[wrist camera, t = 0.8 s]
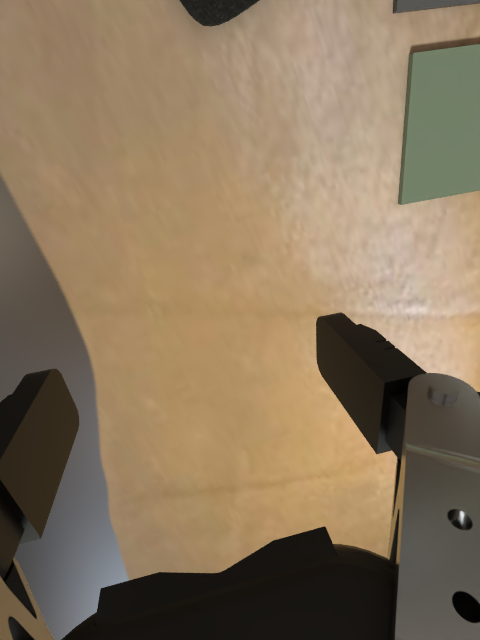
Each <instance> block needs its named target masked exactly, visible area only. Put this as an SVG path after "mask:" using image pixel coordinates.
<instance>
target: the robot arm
mask: <svg viewBox="0 0 480 640" xmlns="http://www.w3.org/2000/svg"><path fill="white" fill-rule="evenodd" d="M316 346H317V364H318V368H319V371H320V373H321V375H322V377H323V378H324V380H325V381H326V382H327V384H328V385H329V387H330V388H331V390H332V391H333V392H334V394H335V395H336V397H337V398H338V400H339V401H340V402H341V404H342V405H343V407H344V408H345V410H346V411H347V412H348V414H349V415H350V417H351V418H352V420H353V421H354V422H355V424H356V425H357V427H358V428H359V430H360V431H361V432H362V434H363V435H364V437H365V438H366V440H367V441H368V442H369V444H370V445H371V447H372V448H373V450H374V451H375V452H376V454H379V453H383V452H387V451H391V450H392V451H393V452H394V453H395V455H396V456H397V463H396V472H395V484H394V495H393V506H392V518H391V529H390V538H389V546H388V554H387V558H385V557H383V556H381V555H378V554H376V553H373V552H371V551H369V550H365V549H362V548H358V547H355V546H348V545H342V544H333V543H332V541H331V539H330V536H329V534H328V532H327V529H326V527H321V528H317V529H314V530H310V531H307V532H303V533H299V534H296V535H292V536H289V537H285V538H281V539H278V540H274V541H272V542H270V543H269V544H267V545H266V546H264V547H262V548H261V549H259V550H257V551H256V552H254V553H252V554H251V555H249V556H248V557H246V558H244V559H243V560H241V561H239V562H238V563H236V564H234V565H233V566H231V567H230V568H228V569H226V570H224V571H222V572H219V573H168V572H159V573H155V574H151V575H148V576H144V577H141V578H137V579H133V580H130V581H126V582H123V583H119V584H115V585H112V586H108V587H105V588H101V591H100V597H99V603H98V609H97V612H96V613H95V614H93V615H92V616H90V617H89V618H87V619H86V620H85V621H83V622H82V623H81V624H79V625H78V626H76V627H75V628H74V629H73V630H72V631H71V632H70V633H68V634H67V635H66V636H65V637H64V638H63V639H62V640H480V392H476V391H475V390H474V388H472V387H471V386H470V385H469V384H467V383H465V382H464V381H462V380H460V379H457V378H455V377H452V376H449V375H444V374H438V373H426V372H425V371H424V370H423V369H421V368H420V367H419V366H418V365H417V364H415V363H414V362H413V361H412V360H411V359H409V358H408V357H407V356H406V355H405V354H403V353H402V352H401V351H400V350H399V349H397V348H395V346H394V345H393V344H391V343H390V342H389V341H386V339H385V338H384V337H383V336H382V335H381V334H379V333H378V332H377V331H376V330H374V329H371V328H369V327H367V326H364V325H362V324H358V325H356V324H355V323H354V322H352V321H351V320H350V319H349V318H348V317H347V316H346V315H345V314H343V313H336V314H331V315H326V316H320V317H318V318H317V322H316ZM78 427H79V415H78V410H77V408H76V405H75V403H74V401H73V399H72V397H71V395H70V392H69V390H68V388H67V386H66V384H65V381H64V379H63V377H62V375H61V373H60V372H59V371H58V370H57V369H50V370H45V371H40V372H35V373H30V374H26V375H25V376H24V378H23V379H22V381H21V382H20V384H19V385H18V386H17V388H16V389H15V391H14V392H13V394H11V395H9V396H7V397H6V398H5V399H4V400H2V401H1V402H0V640H54V639H53V637H52V635H51V633H50V631H49V630H48V628H47V626H46V624H45V622H44V619H43V617H42V615H41V613H40V610H39V608H38V606H37V603H36V601H35V599H34V597H33V594H32V593H31V590H30V588H29V585H28V584H27V581H26V579H25V577H24V574H23V572H22V570H21V567H20V565H19V563H18V562H17V560H16V559H15V558H14V555H15V552H16V550H17V547H18V545H19V544H21V543H24V542H28V541H32V540H36V539H40V538H41V537H42V534H43V531H44V528H45V525H46V522H47V519H48V516H49V513H50V510H51V507H52V505H53V502H54V499H55V496H56V493H57V490H58V487H59V484H60V481H61V478H62V475H63V472H64V469H65V466H66V463H67V460H68V458H69V455H70V452H71V449H72V445H73V443H74V440H75V437H76V434H77V431H78Z"/></svg>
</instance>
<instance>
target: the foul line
mask: <svg viewBox="0 0 480 640" xmlns="http://www.w3.org/2000/svg"><path fill="white" fill-rule="evenodd" d="M477 3H480V0H394V3H393V13H401V12H410V11H418V10H426V9H435V8H443V7H452V6H460V5H469V4H477Z"/></svg>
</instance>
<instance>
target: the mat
mask: <svg viewBox="0 0 480 640" xmlns="http://www.w3.org/2000/svg"><path fill="white" fill-rule="evenodd" d="M479 190H480V44H476V45H469V46H461V47H454V48H446V49H439V50H431V51H424V52H416V53H412V54H410V55H409V68H408V81H407V94H406V108H405V121H404V134H403V147H402V161H401V174H400V187H399V200H398V204H400V205H403V204H408V203H414V202H419V201H425V200H430V199H435V198H441V197H446V196H452V195H457V194H462V193H468V192H473V191H479Z"/></svg>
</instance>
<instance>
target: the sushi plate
mask: <svg viewBox="0 0 480 640" xmlns="http://www.w3.org/2000/svg"><path fill="white" fill-rule="evenodd" d="M258 1H259V0H180V2H181V3H182V5H183V6H184V7H185V9H186V10H187V11H188V13H189V14H190V15H191V16H192V17H193V18H194V19H195V20H196V21H197V22H199V23H200V24H202V25H203V26H215V25H220V24H222V23H225V22H227V21H229V20H231V19H232V18H234V17H236V16H237V15H239V14H240V13H242V12H243V11H245V10H246V9H248V8H249V7H251V6H252V5H254V4H255V3H256V2H258Z"/></svg>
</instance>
